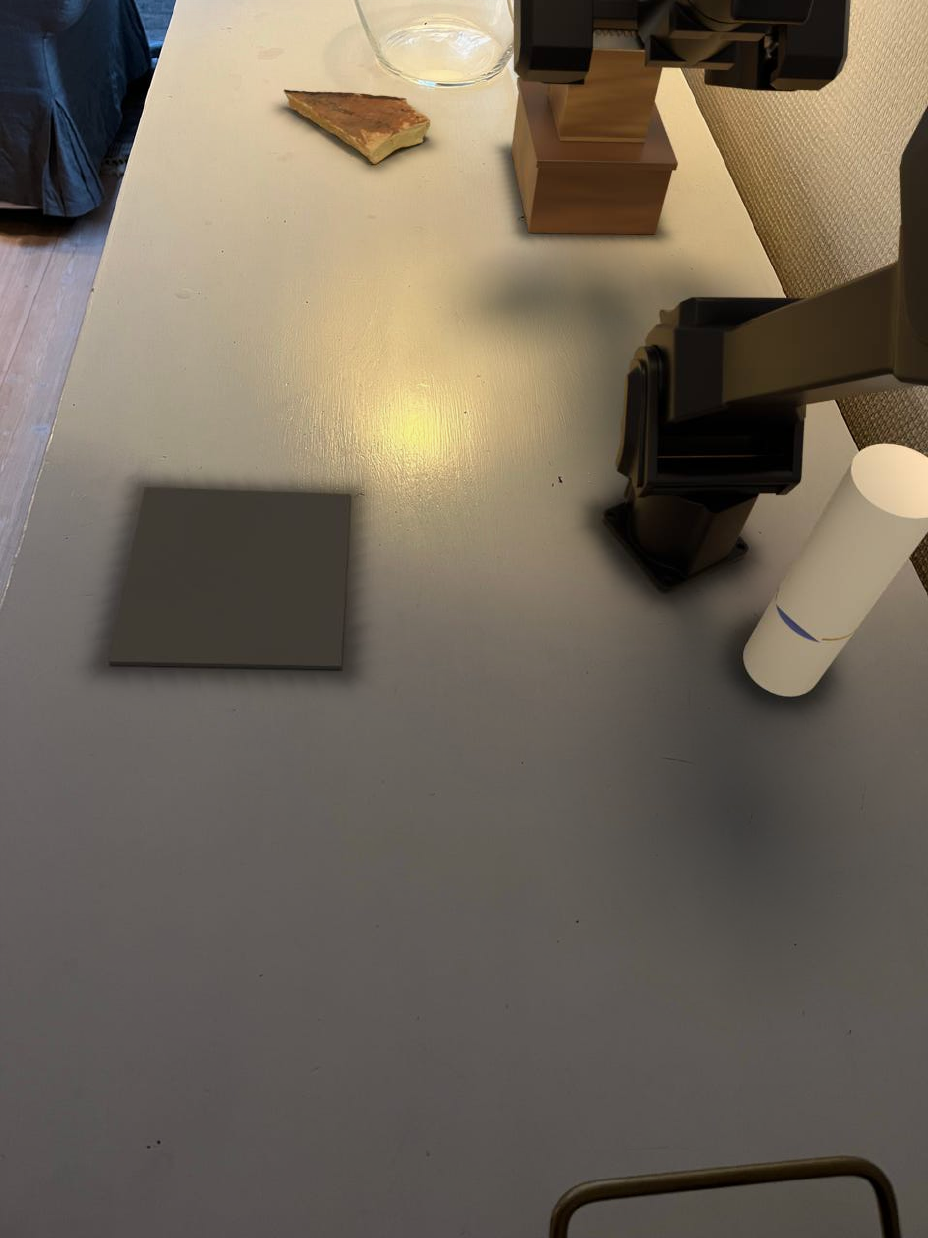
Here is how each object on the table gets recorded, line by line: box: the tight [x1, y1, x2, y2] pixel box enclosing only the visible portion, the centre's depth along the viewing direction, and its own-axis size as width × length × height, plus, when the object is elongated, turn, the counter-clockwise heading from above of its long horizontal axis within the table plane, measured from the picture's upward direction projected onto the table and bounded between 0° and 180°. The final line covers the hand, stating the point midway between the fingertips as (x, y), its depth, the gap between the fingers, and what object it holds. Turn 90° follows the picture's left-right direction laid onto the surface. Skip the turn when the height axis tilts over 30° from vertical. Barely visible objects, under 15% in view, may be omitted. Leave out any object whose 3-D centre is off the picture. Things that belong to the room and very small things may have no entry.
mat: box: [108, 486, 352, 670], centre depth 55 cm, size 12×12×1 cm
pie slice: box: [283, 89, 431, 165], centre depth 81 cm, size 11×8×2 cm
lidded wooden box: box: [510, 76, 679, 235], centre depth 76 cm, size 11×10×6 cm
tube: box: [742, 443, 928, 698], centre depth 49 cm, size 4×4×15 cm
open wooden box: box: [548, 30, 663, 143], centre depth 70 cm, size 6×6×9 cm
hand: (637, 73), depth 63 cm, fingers open, 9 cm apart
